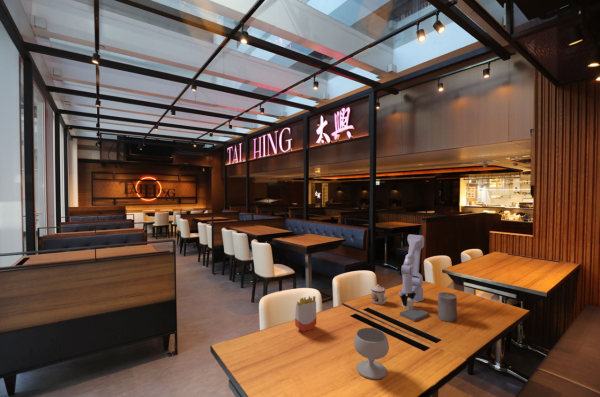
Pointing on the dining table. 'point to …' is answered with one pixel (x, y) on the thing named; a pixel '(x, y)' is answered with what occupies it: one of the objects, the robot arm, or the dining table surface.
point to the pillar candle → (447, 307)
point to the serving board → (414, 314)
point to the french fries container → (305, 314)
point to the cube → (408, 303)
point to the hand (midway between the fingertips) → (407, 304)
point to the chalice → (371, 352)
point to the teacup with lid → (378, 295)
